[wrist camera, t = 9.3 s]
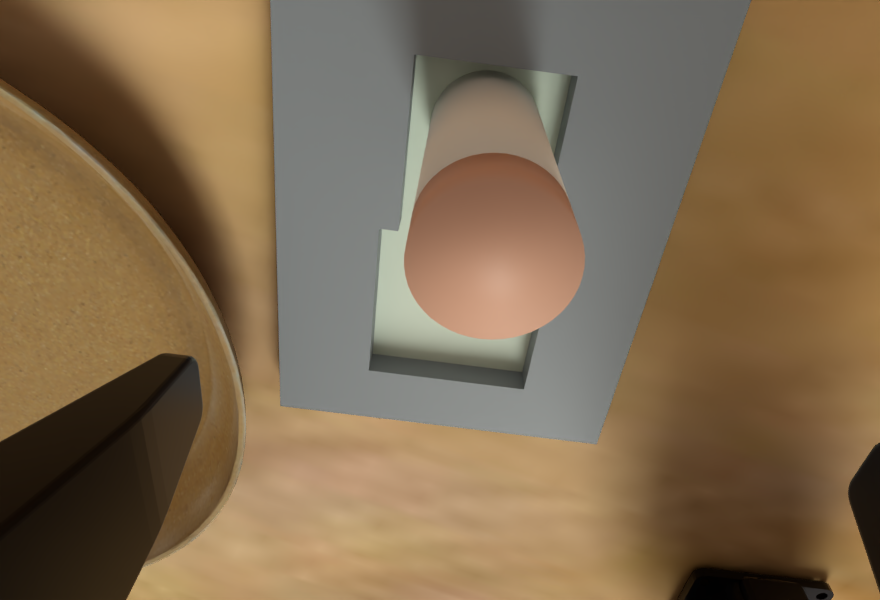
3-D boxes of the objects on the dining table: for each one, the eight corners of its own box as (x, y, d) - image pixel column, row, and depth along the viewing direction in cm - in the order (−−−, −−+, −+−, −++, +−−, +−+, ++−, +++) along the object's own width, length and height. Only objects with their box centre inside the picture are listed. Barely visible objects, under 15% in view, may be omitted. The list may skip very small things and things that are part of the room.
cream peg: (527, 184, 19) (562, 348, 12) (425, 171, 19) (396, 328, 12) (549, 78, 17) (605, 193, 10) (437, 63, 17) (412, 168, 10)
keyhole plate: (591, 422, 24) (596, 444, 23) (288, 385, 24) (280, 405, 23) (743, -35, 16) (762, -31, 15) (281, -98, 16) (267, -100, 15)
